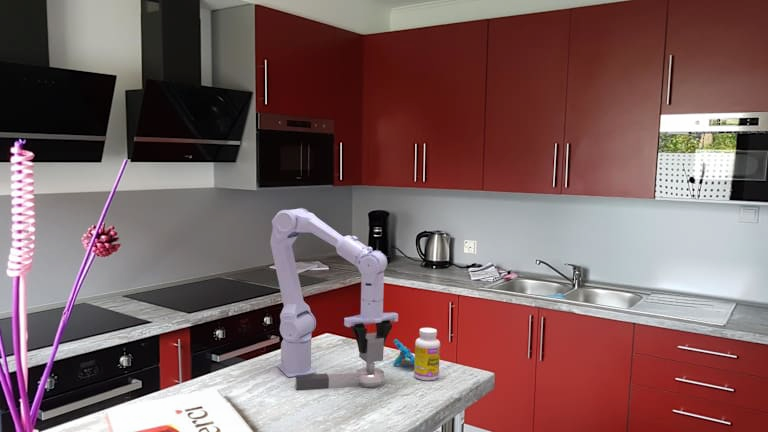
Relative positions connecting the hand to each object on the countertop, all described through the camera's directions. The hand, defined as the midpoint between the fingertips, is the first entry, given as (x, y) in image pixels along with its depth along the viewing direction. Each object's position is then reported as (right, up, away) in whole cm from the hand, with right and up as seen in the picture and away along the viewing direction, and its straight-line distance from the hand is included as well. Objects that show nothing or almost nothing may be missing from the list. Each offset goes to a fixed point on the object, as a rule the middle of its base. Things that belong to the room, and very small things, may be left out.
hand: (370, 350), depth 150 cm
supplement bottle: (+15, -9, +6) cm, 18 cm away
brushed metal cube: (0, -2, 0) cm, 2 cm away
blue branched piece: (+10, -8, +15) cm, 20 cm away
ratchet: (-8, -8, -2) cm, 12 cm away
